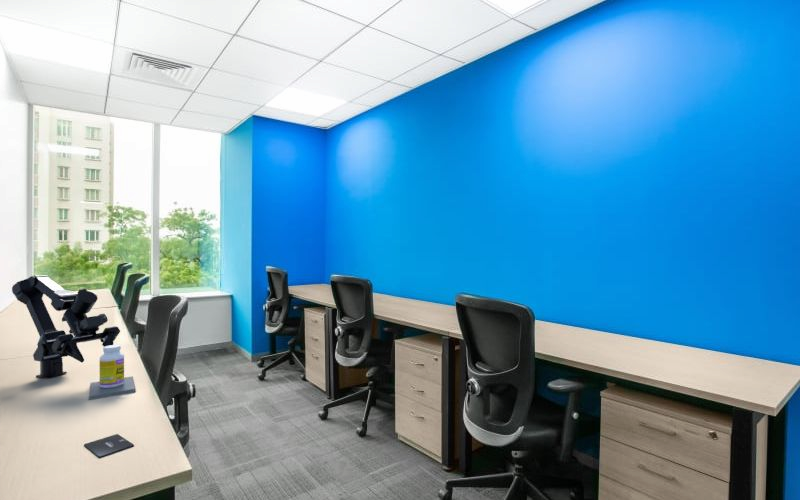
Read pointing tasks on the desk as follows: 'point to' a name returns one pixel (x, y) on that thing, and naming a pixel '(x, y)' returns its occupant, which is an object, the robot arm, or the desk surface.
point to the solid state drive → (108, 445)
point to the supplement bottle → (111, 367)
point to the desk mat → (111, 389)
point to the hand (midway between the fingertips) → (98, 358)
